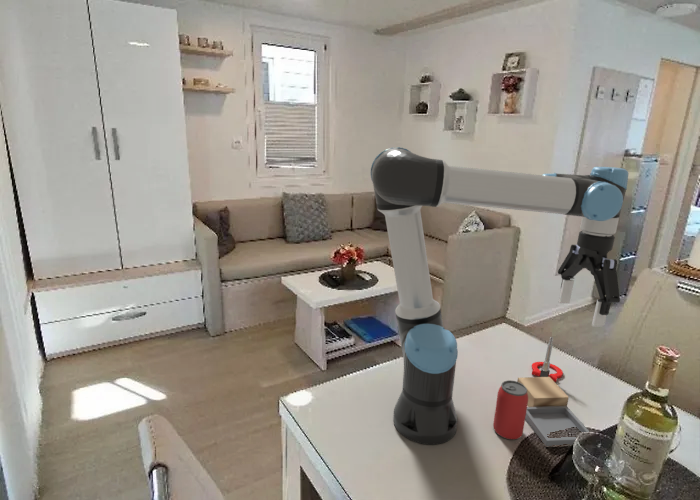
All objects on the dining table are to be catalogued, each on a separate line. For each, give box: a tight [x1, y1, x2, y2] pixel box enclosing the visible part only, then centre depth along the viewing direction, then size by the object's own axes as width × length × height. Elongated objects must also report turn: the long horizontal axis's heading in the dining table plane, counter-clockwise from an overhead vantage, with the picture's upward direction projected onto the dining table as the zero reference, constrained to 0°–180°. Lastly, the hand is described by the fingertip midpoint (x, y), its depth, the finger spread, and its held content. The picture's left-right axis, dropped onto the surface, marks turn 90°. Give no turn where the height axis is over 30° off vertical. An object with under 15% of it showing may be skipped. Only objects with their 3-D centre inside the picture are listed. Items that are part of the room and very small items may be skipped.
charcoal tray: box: [525, 405, 590, 446], centre depth 99 cm, size 12×12×2 cm
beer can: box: [492, 379, 528, 440], centre depth 97 cm, size 7×7×12 cm
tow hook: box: [531, 336, 564, 383], centre depth 122 cm, size 8×13×9 cm
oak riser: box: [516, 376, 570, 407], centre depth 109 cm, size 9×9×4 cm
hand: (579, 313), depth 106 cm, fingers open, 13 cm apart
